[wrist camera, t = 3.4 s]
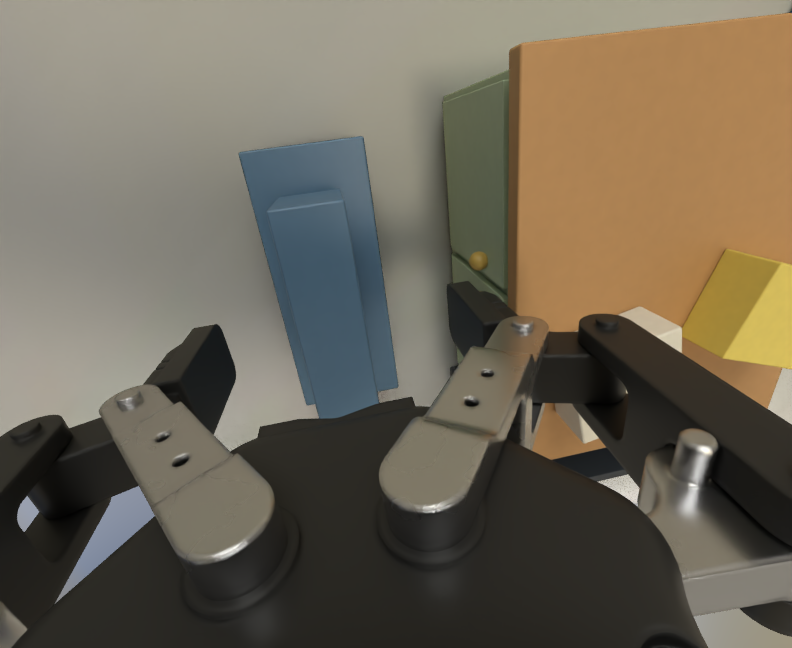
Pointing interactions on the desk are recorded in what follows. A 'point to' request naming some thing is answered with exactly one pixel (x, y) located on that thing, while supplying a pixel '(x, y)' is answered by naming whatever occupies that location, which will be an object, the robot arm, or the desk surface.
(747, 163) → the cabinet
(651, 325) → the scrap white
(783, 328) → the scrap yellow
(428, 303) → the desk surface
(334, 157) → the brush
